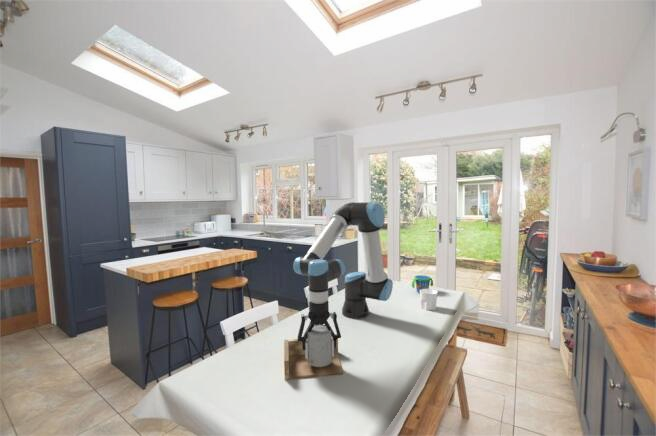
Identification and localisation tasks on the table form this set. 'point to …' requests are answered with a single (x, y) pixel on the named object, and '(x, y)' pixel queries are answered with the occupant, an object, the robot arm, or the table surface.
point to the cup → (428, 299)
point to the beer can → (319, 346)
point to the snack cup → (422, 282)
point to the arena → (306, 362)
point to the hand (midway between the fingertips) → (319, 356)
